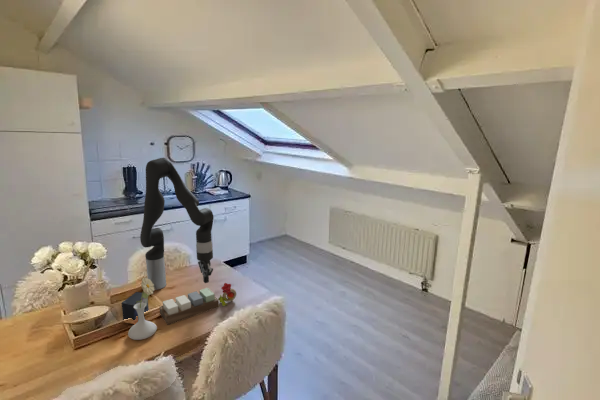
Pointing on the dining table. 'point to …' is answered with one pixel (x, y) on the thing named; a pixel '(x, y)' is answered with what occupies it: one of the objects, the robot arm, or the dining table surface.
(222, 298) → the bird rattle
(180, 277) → the dining table surface
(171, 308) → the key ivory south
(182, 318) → the keybed
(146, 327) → the flower in vase
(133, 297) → the small box
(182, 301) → the key ivory inner
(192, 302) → the key slate
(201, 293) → the key sage
